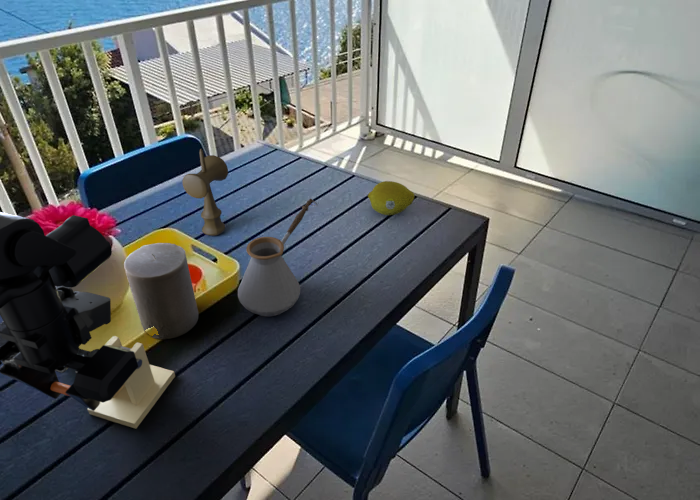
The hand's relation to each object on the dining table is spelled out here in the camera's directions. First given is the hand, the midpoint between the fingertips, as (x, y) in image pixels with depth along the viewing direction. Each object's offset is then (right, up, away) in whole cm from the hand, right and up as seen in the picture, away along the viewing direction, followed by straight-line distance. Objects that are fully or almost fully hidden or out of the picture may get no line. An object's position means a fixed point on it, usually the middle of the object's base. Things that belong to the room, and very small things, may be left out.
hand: (76, 401), depth 64 cm
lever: (+1, +2, +4) cm, 4 cm away
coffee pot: (+23, +12, +33) cm, 42 cm away
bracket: (+2, -3, +12) cm, 12 cm away
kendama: (+5, +24, +48) cm, 54 cm away
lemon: (+45, +28, +56) cm, 77 cm away
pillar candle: (+3, +7, +25) cm, 26 cm away
